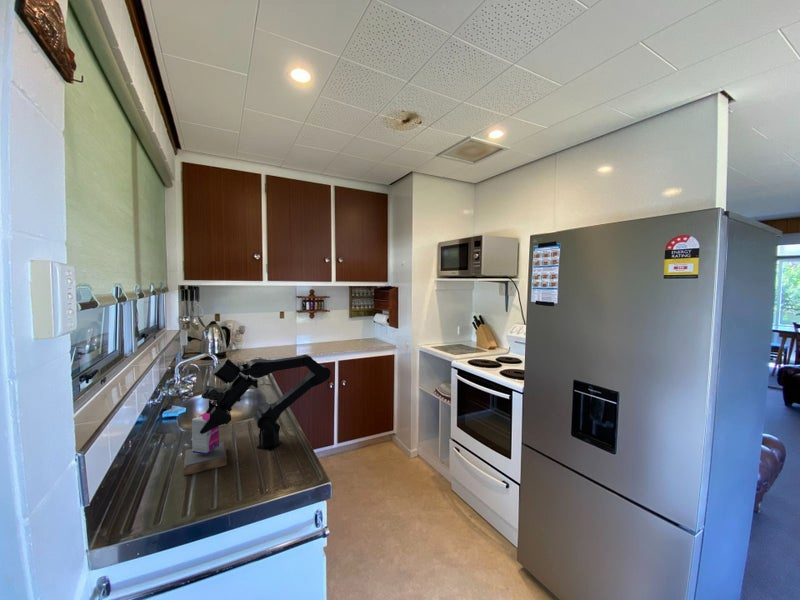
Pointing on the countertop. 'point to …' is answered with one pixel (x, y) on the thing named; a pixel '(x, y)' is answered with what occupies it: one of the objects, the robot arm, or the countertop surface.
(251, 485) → the countertop surface
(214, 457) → the walnut base
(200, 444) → the supplement box
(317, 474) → the countertop surface
